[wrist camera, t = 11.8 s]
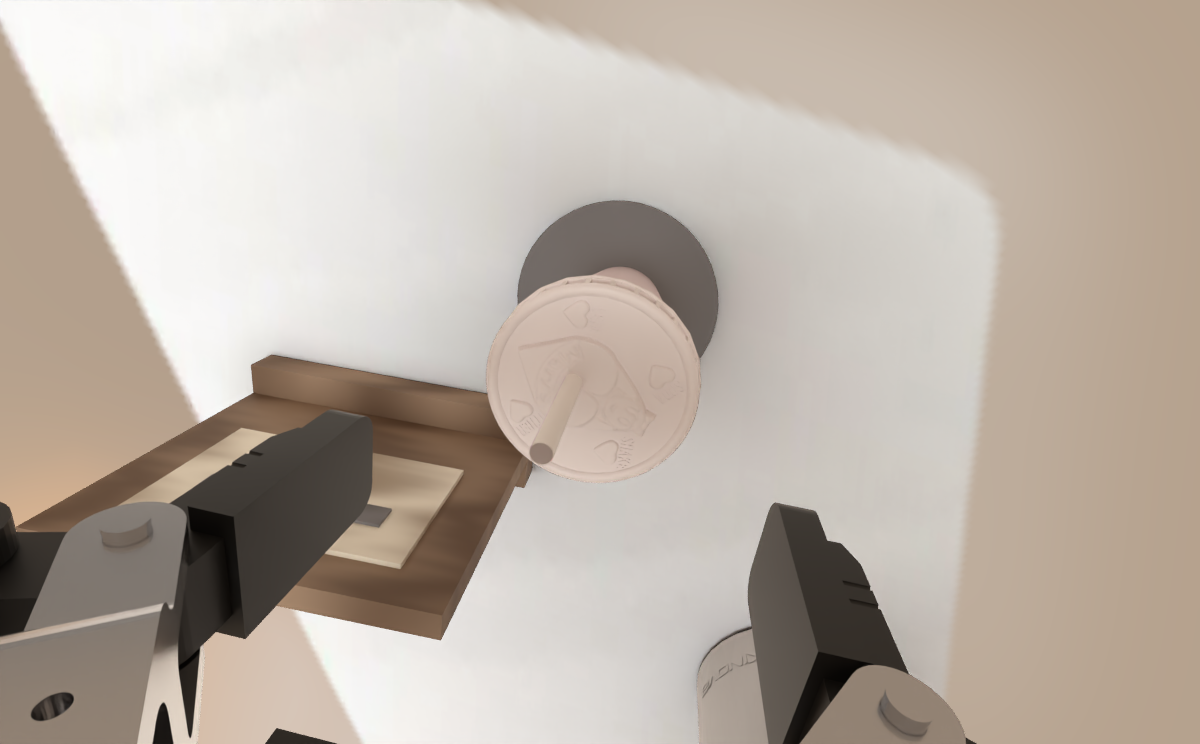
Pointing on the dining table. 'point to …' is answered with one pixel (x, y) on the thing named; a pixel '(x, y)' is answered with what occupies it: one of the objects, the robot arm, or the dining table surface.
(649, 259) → the coaster
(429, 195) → the dining table surface
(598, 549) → the dining table surface
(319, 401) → the placard
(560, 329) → the smoothie
